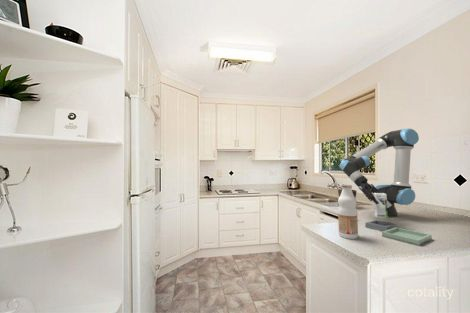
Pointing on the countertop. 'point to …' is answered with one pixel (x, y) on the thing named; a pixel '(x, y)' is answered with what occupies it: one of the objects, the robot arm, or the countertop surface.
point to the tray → (407, 236)
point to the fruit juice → (347, 214)
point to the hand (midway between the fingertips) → (386, 207)
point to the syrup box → (383, 199)
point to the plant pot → (352, 191)
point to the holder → (380, 225)
